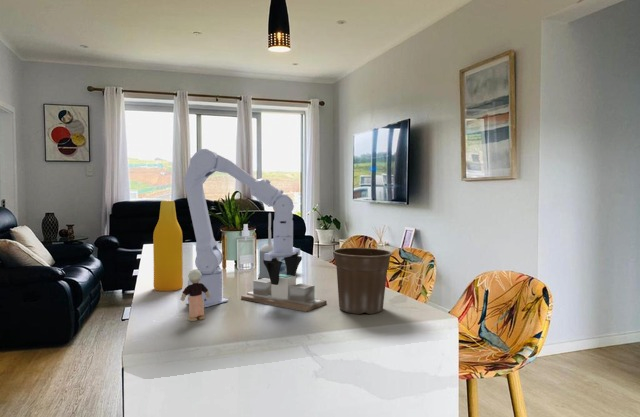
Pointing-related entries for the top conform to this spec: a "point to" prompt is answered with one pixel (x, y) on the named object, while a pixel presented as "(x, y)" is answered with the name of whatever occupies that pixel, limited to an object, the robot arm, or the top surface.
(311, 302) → the board
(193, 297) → the grandmother figurine
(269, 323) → the top surface
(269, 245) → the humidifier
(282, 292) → the block
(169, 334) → the top surface
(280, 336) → the top surface
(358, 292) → the plant pot
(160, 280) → the beer bottle
